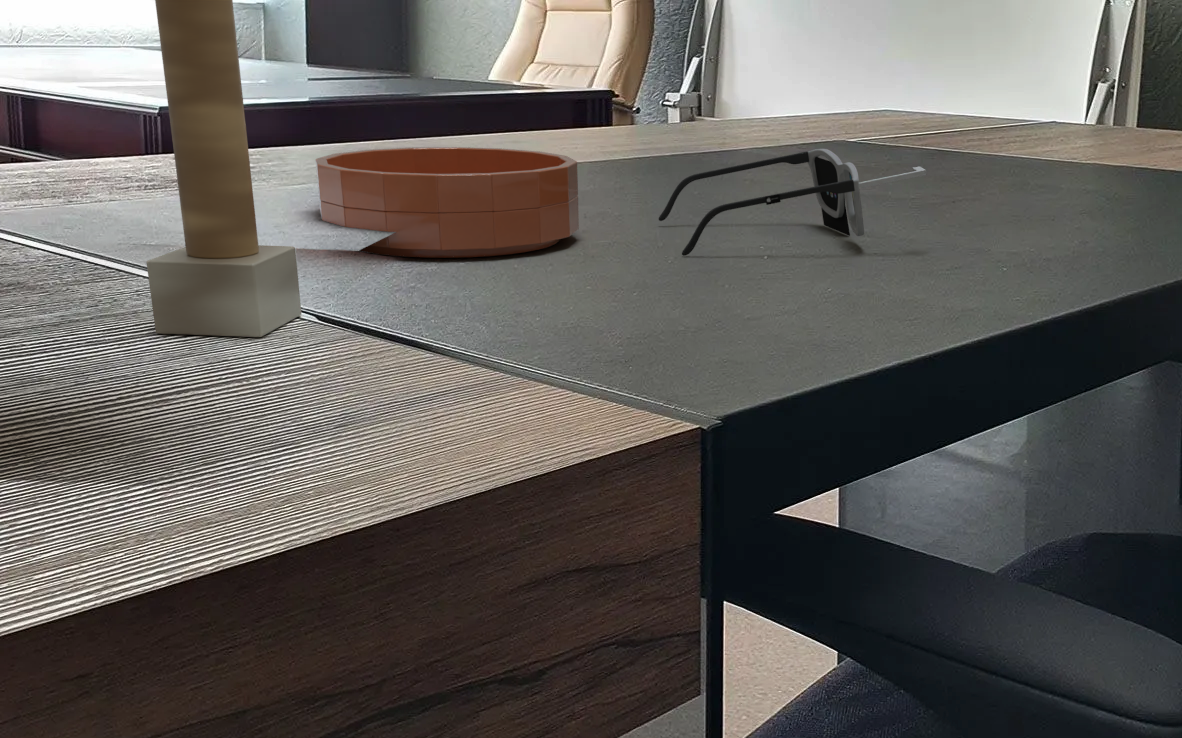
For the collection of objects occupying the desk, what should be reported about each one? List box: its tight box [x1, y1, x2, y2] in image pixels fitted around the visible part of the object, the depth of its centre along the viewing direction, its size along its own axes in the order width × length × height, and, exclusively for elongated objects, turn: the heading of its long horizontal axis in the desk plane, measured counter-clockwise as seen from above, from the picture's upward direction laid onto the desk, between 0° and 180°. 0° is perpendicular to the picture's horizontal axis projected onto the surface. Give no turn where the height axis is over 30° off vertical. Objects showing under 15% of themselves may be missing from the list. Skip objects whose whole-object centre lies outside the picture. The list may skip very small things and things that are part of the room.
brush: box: [146, 0, 302, 338], centre depth 56 cm, size 4×4×15 cm
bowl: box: [314, 146, 580, 259], centre depth 79 cm, size 14×14×4 cm
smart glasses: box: [658, 148, 927, 256], centre depth 83 cm, size 12×14×5 cm
